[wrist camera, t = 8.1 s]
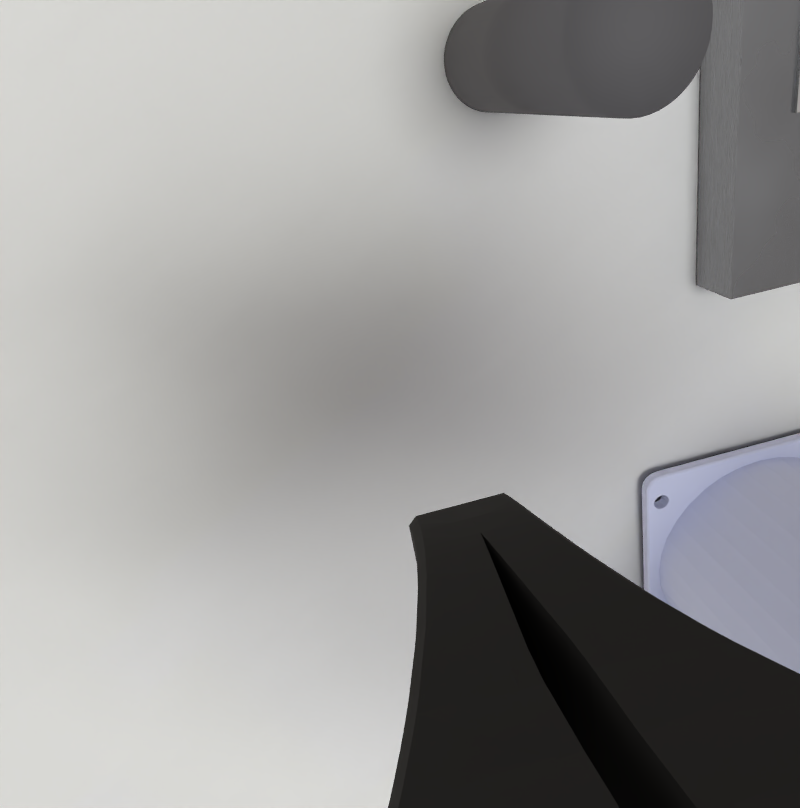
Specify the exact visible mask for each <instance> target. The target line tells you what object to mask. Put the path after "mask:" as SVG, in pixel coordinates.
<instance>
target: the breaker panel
mask: <svg viewBox="0 0 800 808" xmlns="http://www.w3.org/2000/svg"><path fill="white" fill-rule="evenodd" d="M712 3H713V23H712V31H711V37H710V41H709V45H708V48H707V52H706V54H705V57H704V59H703V62H702V64H701V78H700V131H699V183H698V236H697V285H698V286H700V287H703V288H705V289H707V290H710V291H712V292H715V293H717V294H719V295H722V296H724V297H726V298H729V299H734V298H738V297H742V296H746V295H750V294H754V293H758V292H763V291H767V290H771V289H775V288H779V287H783V286H787V285H791V284H795V283H799V282H800V0H712Z"/></svg>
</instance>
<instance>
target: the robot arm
mask: <svg viewBox="0 0 800 808" xmlns="http://www.w3.org/2000/svg"><path fill="white" fill-rule="evenodd" d="M661 495H662V497H661V499H660V500H659V501H657V502H655V500H656V499H657V498H658V497H659V496H661ZM642 519H643V566H644V589H642V588H641V587H639V586H637V585H636V584H634V583H633V582H631V581H630V580H628V579H626V578H625V577H623V576H622V575H620V574H619V573H617V572H616V571H614V570H613V569H611V568H610V567H608V566H607V565H605V564H604V563H602V562H601V561H599V560H598V559H596V558H594V557H593V556H591V555H590V554H589V553H587V552H586V551H584V550H583V549H581V548H580V547H578V546H577V545H576V544H574V543H573V542H571V541H570V540H569V539H567V538H566V537H564V536H563V535H562V534H560V533H559V532H557V531H556V530H555V529H553V528H552V527H550V526H549V525H548V524H546V523H545V522H544V521H542V520H541V519H540V518H538V517H537V516H535V515H534V514H533V513H531V512H530V511H529V510H527V509H526V508H525V507H523V506H522V505H521V504H519V503H518V502H517V501H515V500H514V499H513V498H511V497H509V496H508V495H506V494H505V493H502V494H498V495H495V496H491V497H487V498H483V499H479V500H476V501H472V502H468V503H464V504H460V505H457V506H453V507H449V508H445V509H442V510H438V511H434V512H430V513H426V514H423V515H419V516H416V517H415V518H414V520H413V521H412V522H411V524H410V525H409V527H410V532H411V537H412V542H413V547H414V551H415V556H416V561H417V572H418V603H417V629H416V643H415V652H414V660H413V669H412V677H411V686H410V694H409V702H408V708H407V715H406V721H405V727H404V733H403V738H402V744H401V749H400V754H399V759H398V764H397V769H396V774H395V779H394V784H393V788H392V793H391V798H390V802H389V806H388V808H800V433H798V434H794V435H790V436H787V437H783V438H779V439H775V440H772V441H768V442H764V443H760V444H757V445H753V446H749V447H746V448H742V449H738V450H734V451H731V452H727V453H723V454H720V455H716V456H712V457H708V458H705V459H701V460H697V461H693V462H690V463H686V464H682V465H679V466H675V467H671V468H667V469H664V470H660V471H656V472H654V473H652V474H650V475H649V476H648V477H646V479H645V480H644V482H643V485H642Z"/></svg>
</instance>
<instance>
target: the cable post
mask: <svg viewBox="0 0 800 808" xmlns="http://www.w3.org/2000/svg"><path fill="white" fill-rule="evenodd" d="M712 23H713V3H712V0H486V1H484V2H482V3H480V4H477V5H475V6H473V7H472V8H470V9H468V10H467V11H466V12H465V13H464V14H462V16H461V17H460V18H459V19H458V20H457V21H456V23H455V24H454V26H453V28H452V29H451V31H450V34H449V36H448V39H447V42H446V46H445V53H444V65H445V72H446V76H447V79H448V82H449V84H450V87H451V89H452V90H453V92H454V93H455V95H456V96H457V97H458V98H459V99H460V100H461V101H462V102H463V103H464V104H466V105H467V106H469V107H471V108H473V109H475V110H478V111H482V112H494V113H516V114H538V115H560V116H581V117H603V118H638V117H643V116H646V115H650V114H652V113H654V112H656V111H659V110H660V109H662V108H664V107H665V106H667V105H668V104H670V103H671V102H672V101H673V100H675V99H676V98H677V97H678V96H679V95H680V94H681V93H682V92H683V91H684V90H685V89H686V87H687V86H688V85H689V84H690V82H691V81H692V79H693V78H694V76H695V75H696V73H697V72H698V70H699V68H700V66H701V64H702V62H703V59H704V57H705V54H706V52H707V48H708V45H709V41H710V37H711V31H712Z"/></svg>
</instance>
